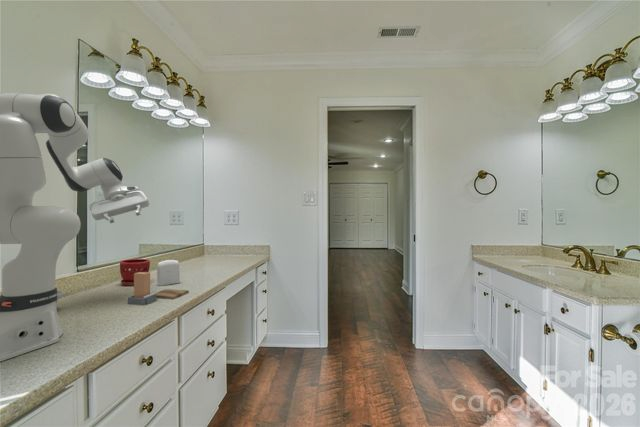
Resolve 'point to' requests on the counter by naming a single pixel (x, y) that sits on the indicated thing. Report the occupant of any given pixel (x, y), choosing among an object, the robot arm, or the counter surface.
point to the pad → (171, 293)
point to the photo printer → (168, 272)
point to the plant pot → (132, 269)
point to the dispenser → (142, 299)
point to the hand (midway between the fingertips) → (125, 217)
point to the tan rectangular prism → (141, 284)
